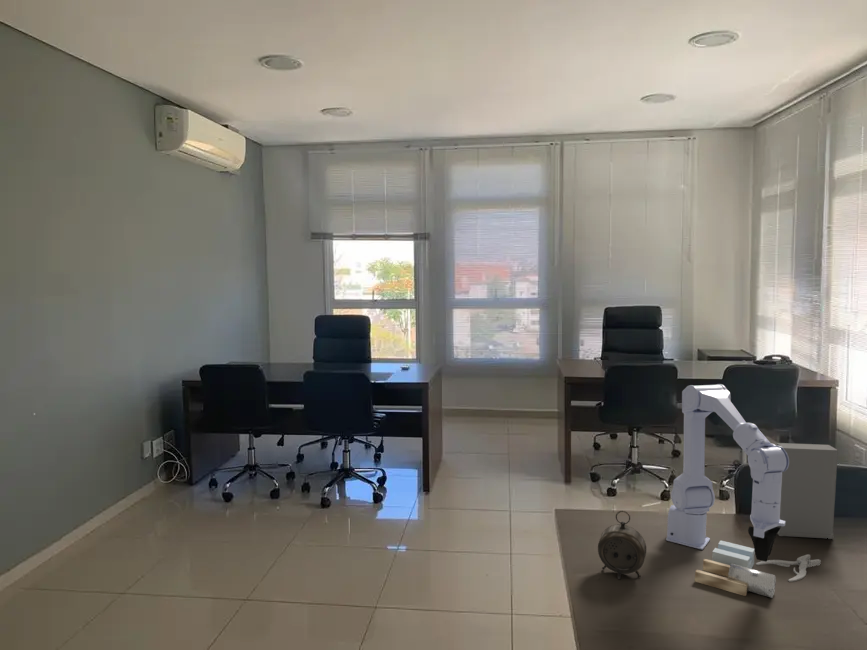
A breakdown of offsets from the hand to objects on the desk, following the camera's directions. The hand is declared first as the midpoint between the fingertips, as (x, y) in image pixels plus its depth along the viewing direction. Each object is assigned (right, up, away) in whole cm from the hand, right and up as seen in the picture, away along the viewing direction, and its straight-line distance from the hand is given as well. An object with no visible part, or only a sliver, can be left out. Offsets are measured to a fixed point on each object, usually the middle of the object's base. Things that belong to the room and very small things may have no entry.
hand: (763, 557), depth 143 cm
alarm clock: (-30, -8, +9) cm, 32 cm away
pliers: (+14, -8, +13) cm, 21 cm away
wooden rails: (-6, -8, +6) cm, 12 cm away
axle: (-2, -8, +2) cm, 9 cm away
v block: (0, -7, +14) cm, 15 cm away
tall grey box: (+28, -6, +32) cm, 43 cm away
